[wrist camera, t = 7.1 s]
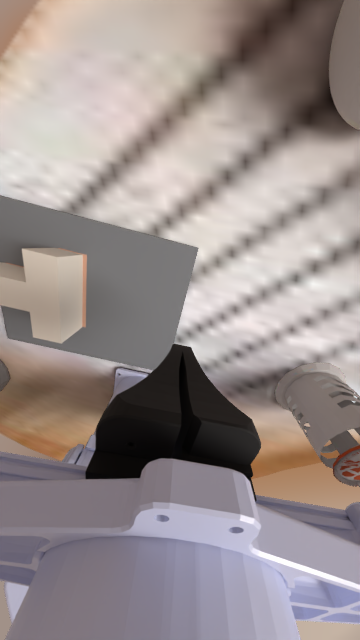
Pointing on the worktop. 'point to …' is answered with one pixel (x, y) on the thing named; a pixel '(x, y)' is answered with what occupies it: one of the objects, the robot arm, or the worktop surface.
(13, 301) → the t block
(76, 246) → the slate mat
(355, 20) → the teacup
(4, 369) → the coffeepot
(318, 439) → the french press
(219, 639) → the robot arm
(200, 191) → the worktop surface
